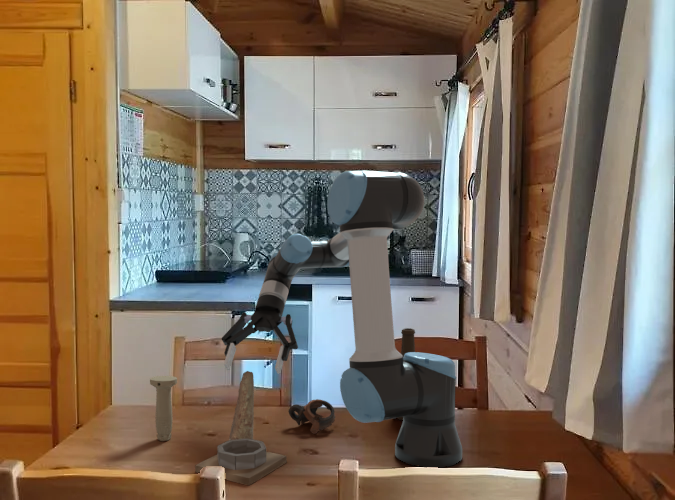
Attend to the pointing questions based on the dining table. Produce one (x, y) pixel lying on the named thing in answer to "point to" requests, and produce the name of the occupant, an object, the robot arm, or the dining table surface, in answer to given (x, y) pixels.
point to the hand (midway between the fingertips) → (251, 369)
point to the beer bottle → (407, 344)
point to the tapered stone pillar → (244, 409)
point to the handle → (163, 405)
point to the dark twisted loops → (312, 415)
